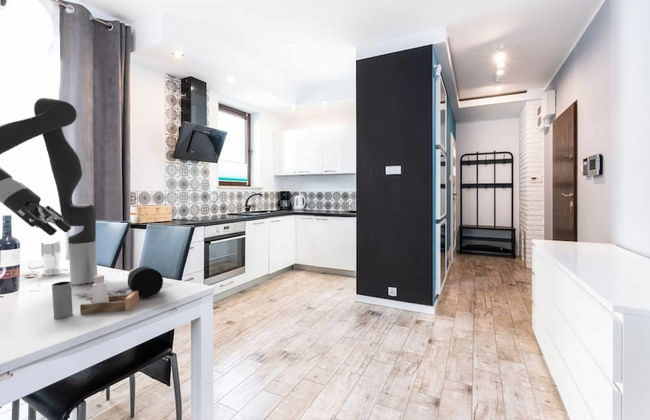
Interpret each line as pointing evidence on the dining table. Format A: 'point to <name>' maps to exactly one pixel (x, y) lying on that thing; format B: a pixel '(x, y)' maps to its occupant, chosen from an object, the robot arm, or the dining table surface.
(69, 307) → the planter
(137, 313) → the dining table surface
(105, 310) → the guide channel
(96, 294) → the pepper shaker
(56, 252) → the beer glass
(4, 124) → the robot arm
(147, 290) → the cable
